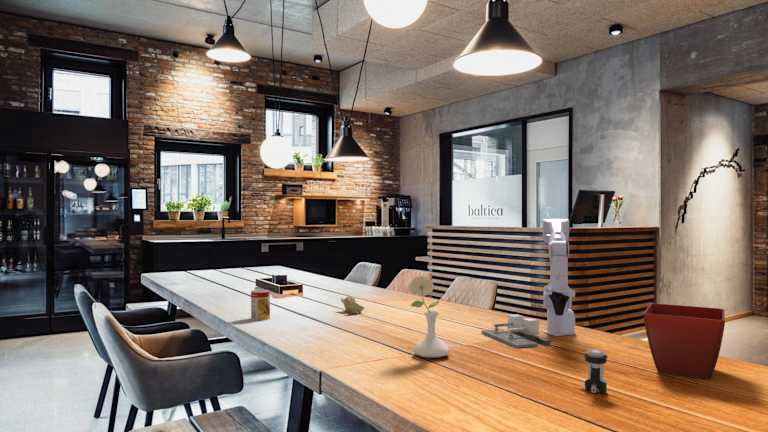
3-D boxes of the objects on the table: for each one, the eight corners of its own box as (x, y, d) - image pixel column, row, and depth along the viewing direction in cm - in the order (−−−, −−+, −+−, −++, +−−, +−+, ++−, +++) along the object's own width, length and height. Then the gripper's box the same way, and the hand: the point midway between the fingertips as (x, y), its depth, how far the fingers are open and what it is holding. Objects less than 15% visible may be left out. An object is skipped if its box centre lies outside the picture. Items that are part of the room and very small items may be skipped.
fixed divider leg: (517, 327, 202) (517, 314, 202) (523, 329, 199) (523, 316, 199) (491, 329, 199) (491, 316, 199) (496, 331, 195) (496, 318, 195)
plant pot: (725, 385, 137) (725, 319, 137) (643, 374, 147) (642, 312, 147) (725, 367, 153) (724, 308, 153) (650, 358, 164) (650, 303, 164)
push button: (575, 390, 134) (575, 350, 134) (584, 385, 138) (583, 346, 138) (603, 396, 129) (602, 355, 129) (610, 391, 133) (610, 351, 133)
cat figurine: (351, 301, 239) (341, 291, 249) (345, 316, 239) (335, 304, 249) (366, 305, 243) (355, 294, 253) (360, 319, 244) (350, 308, 254)
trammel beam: (512, 330, 204) (512, 326, 204) (550, 344, 181) (550, 340, 181) (507, 331, 203) (507, 327, 203) (545, 345, 181) (545, 340, 181)
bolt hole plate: (500, 331, 202) (500, 328, 202) (537, 346, 180) (537, 342, 180) (481, 333, 200) (481, 330, 200) (517, 348, 177) (517, 344, 177)
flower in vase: (453, 352, 172) (452, 274, 172) (445, 362, 161) (444, 278, 161) (413, 349, 176) (413, 273, 176) (403, 358, 165) (403, 277, 165)
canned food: (273, 318, 233) (273, 290, 233) (260, 321, 226) (260, 292, 226) (260, 316, 237) (260, 289, 237) (247, 319, 230) (247, 291, 230)
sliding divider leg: (532, 332, 193) (532, 318, 193) (538, 335, 189) (538, 320, 189) (505, 335, 189) (505, 320, 190) (511, 337, 186) (511, 322, 186)
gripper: (536, 273, 190) (536, 312, 190) (562, 278, 177) (562, 319, 176) (553, 273, 192) (553, 311, 192) (580, 277, 179) (580, 318, 179)
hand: (559, 315), depth 185 cm, fingers closed
